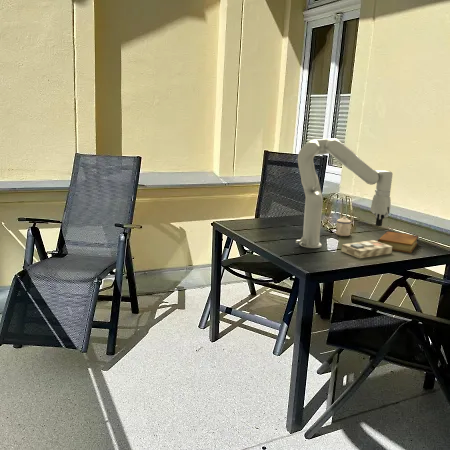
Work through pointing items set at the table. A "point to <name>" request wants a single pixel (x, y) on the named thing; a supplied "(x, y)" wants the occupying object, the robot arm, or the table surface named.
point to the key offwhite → (367, 244)
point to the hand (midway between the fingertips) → (378, 225)
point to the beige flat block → (367, 249)
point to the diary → (399, 241)
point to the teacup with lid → (343, 227)
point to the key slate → (357, 246)
